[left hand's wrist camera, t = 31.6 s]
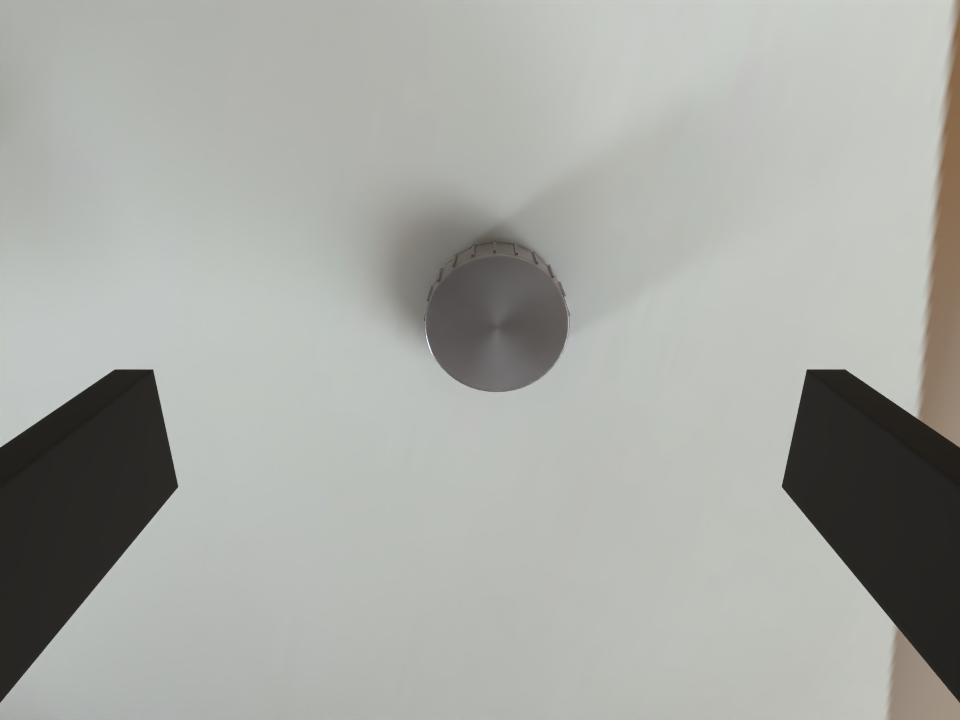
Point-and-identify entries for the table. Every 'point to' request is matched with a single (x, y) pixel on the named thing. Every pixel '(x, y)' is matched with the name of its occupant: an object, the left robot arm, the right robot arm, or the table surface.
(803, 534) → the table surface
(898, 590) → the left robot arm
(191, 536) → the table surface
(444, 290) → the cap
